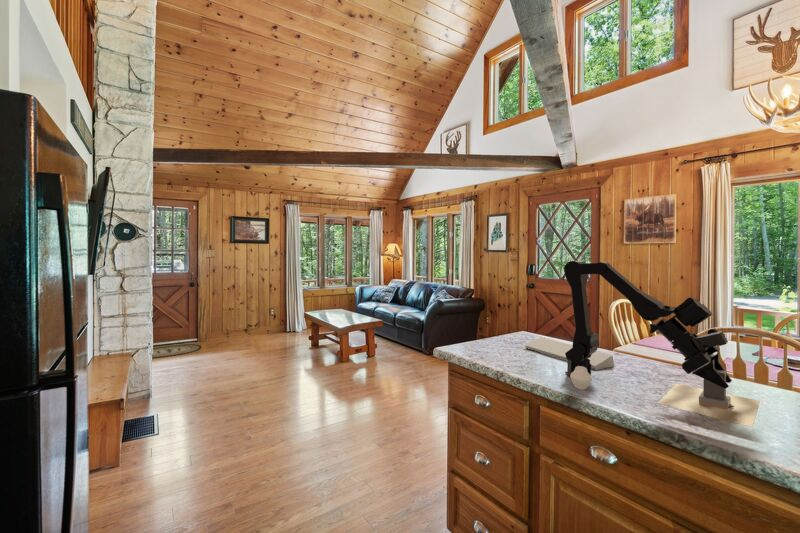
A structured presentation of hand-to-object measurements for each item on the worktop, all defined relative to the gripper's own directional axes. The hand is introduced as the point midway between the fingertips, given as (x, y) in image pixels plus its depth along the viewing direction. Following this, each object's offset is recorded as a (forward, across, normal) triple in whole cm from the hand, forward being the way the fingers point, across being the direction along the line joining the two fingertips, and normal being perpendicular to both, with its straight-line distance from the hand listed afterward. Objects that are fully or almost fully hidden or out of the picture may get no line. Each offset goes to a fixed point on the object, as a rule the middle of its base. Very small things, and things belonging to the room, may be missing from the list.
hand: (728, 384), depth 101 cm
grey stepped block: (+2, 0, +6) cm, 6 cm away
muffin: (-19, -11, +29) cm, 36 cm away
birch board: (+2, 0, +8) cm, 8 cm away
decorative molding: (-31, +22, +43) cm, 57 cm away
